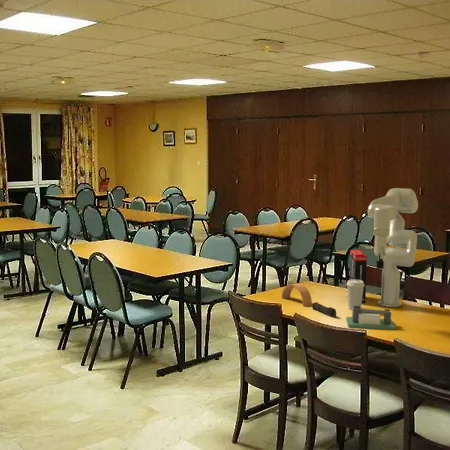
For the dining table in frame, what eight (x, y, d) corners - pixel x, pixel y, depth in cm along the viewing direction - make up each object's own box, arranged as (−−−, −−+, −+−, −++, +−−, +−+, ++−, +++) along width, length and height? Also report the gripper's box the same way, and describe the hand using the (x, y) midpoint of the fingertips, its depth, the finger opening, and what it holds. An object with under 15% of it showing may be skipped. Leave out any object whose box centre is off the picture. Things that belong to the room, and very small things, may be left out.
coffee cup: (363, 311, 319) (365, 283, 317) (345, 310, 321) (346, 282, 319) (363, 306, 329) (364, 279, 327) (345, 305, 331) (346, 278, 329)
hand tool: (311, 309, 323) (311, 301, 322) (318, 308, 324) (318, 300, 324) (331, 319, 306) (331, 310, 305) (337, 318, 307) (338, 309, 306)
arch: (289, 297, 348) (290, 280, 346) (311, 305, 331) (312, 287, 329) (281, 298, 345) (281, 281, 343) (303, 306, 328) (304, 288, 326)
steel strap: (355, 309, 298) (356, 305, 297) (388, 313, 296) (388, 308, 296) (356, 311, 295) (356, 306, 295) (389, 314, 293) (389, 310, 293)
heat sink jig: (346, 319, 304) (346, 303, 303) (391, 321, 301) (392, 305, 300) (348, 327, 291) (349, 310, 290) (395, 329, 289) (396, 312, 288)
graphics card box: (366, 303, 336) (368, 254, 332) (353, 303, 336) (355, 254, 332) (359, 295, 353) (361, 249, 349) (347, 295, 353) (349, 249, 349)
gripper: (372, 229, 307) (370, 264, 310) (375, 234, 292) (373, 271, 295) (387, 229, 306) (385, 265, 309) (391, 235, 291) (389, 272, 294)
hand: (379, 268), depth 302 cm, fingers closed
